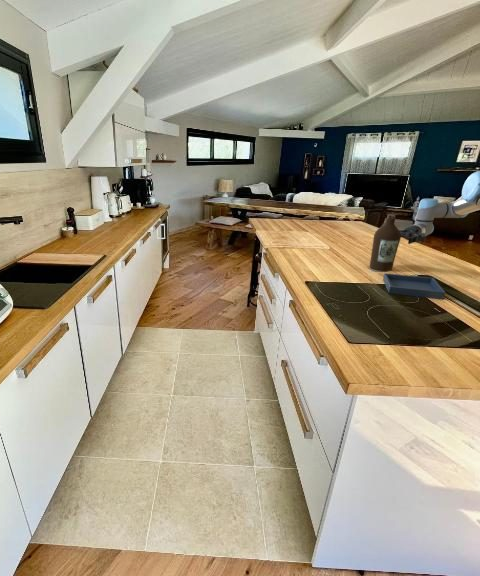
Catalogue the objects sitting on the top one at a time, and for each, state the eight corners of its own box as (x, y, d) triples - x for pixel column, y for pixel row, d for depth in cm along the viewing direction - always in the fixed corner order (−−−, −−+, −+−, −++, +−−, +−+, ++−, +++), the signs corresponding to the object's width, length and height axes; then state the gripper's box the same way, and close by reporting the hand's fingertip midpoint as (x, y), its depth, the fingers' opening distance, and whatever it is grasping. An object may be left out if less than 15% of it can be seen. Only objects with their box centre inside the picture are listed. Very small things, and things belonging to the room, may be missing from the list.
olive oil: (365, 264, 156) (375, 213, 146) (388, 265, 153) (400, 213, 144) (371, 271, 146) (382, 217, 137) (396, 272, 144) (409, 217, 134)
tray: (431, 284, 129) (433, 277, 128) (443, 299, 115) (445, 292, 114) (383, 279, 136) (384, 273, 135) (388, 293, 122) (390, 286, 121)
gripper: (440, 243, 152) (421, 251, 140) (386, 235, 171) (366, 241, 160) (444, 228, 149) (425, 234, 138) (389, 221, 168) (368, 226, 157)
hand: (393, 238), depth 149 cm, fingers open, 13 cm apart
